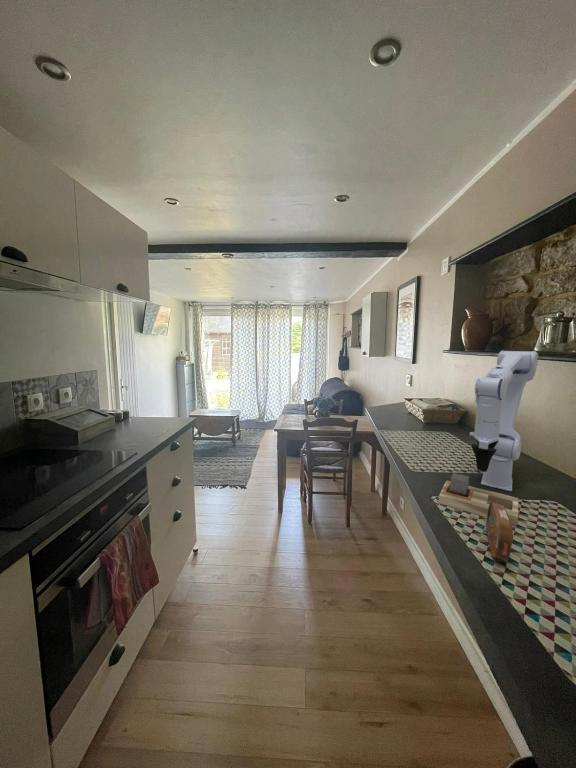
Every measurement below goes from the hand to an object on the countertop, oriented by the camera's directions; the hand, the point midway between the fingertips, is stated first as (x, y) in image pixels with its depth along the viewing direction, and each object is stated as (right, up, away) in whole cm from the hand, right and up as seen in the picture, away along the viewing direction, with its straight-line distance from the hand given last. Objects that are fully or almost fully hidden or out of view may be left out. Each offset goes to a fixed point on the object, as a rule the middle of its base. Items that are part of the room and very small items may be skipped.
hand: (483, 466), depth 86 cm
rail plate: (-2, -11, -1) cm, 11 cm away
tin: (-8, -14, -18) cm, 24 cm away
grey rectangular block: (-6, -10, +2) cm, 12 cm away
